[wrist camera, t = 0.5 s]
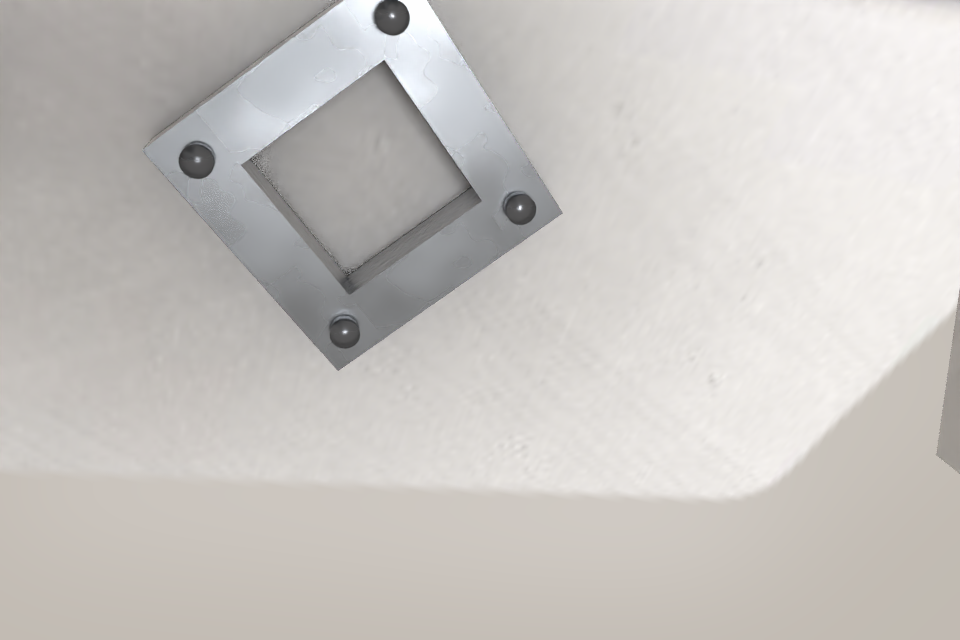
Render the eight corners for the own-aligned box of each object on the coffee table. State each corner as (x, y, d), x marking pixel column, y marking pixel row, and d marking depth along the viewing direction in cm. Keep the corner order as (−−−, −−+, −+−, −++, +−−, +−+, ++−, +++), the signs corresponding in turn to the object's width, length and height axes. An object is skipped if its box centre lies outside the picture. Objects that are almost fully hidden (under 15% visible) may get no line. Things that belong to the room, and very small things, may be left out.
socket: (152, 138, 31) (138, 154, 29) (393, -42, 30) (401, -42, 28) (336, 348, 36) (338, 377, 33) (548, 198, 35) (567, 217, 33)
